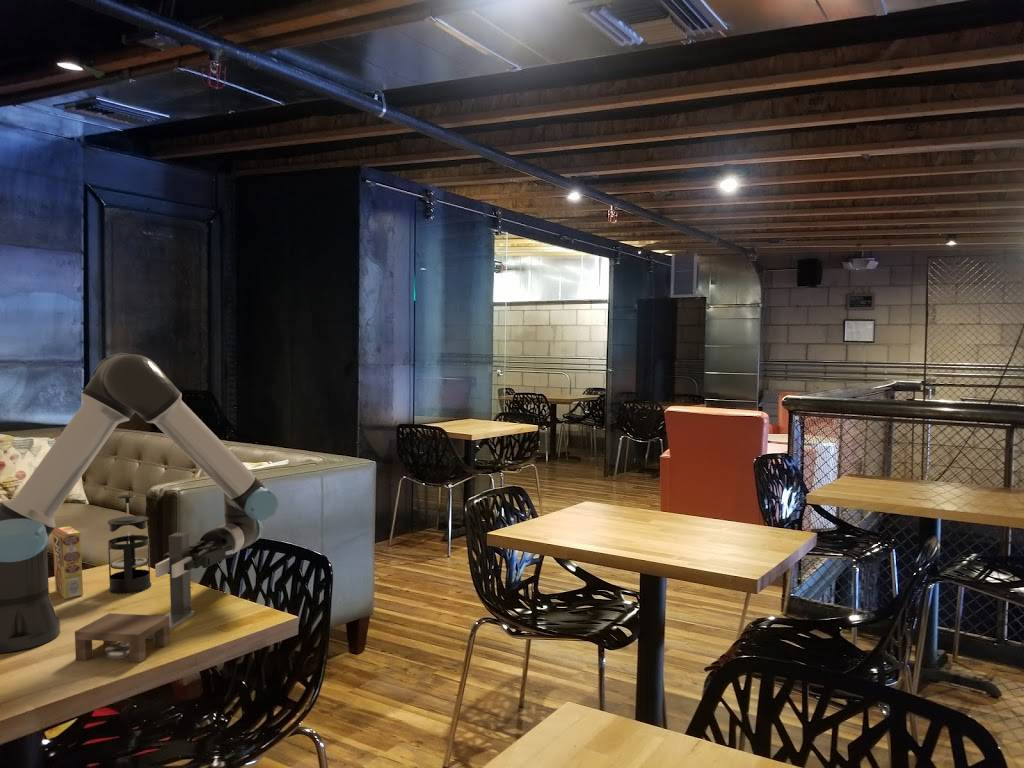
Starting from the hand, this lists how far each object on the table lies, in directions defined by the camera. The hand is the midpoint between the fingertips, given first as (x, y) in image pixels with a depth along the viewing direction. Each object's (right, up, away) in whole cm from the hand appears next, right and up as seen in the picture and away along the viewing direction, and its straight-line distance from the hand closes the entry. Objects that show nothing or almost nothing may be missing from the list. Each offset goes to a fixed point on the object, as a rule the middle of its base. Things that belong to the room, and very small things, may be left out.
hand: (165, 571), depth 166 cm
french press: (-20, -10, +26) cm, 35 cm away
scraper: (0, -12, 0) cm, 12 cm away
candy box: (-33, -11, +22) cm, 41 cm away
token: (-2, -12, -15) cm, 19 cm away
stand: (-2, -12, -14) cm, 19 cm away
